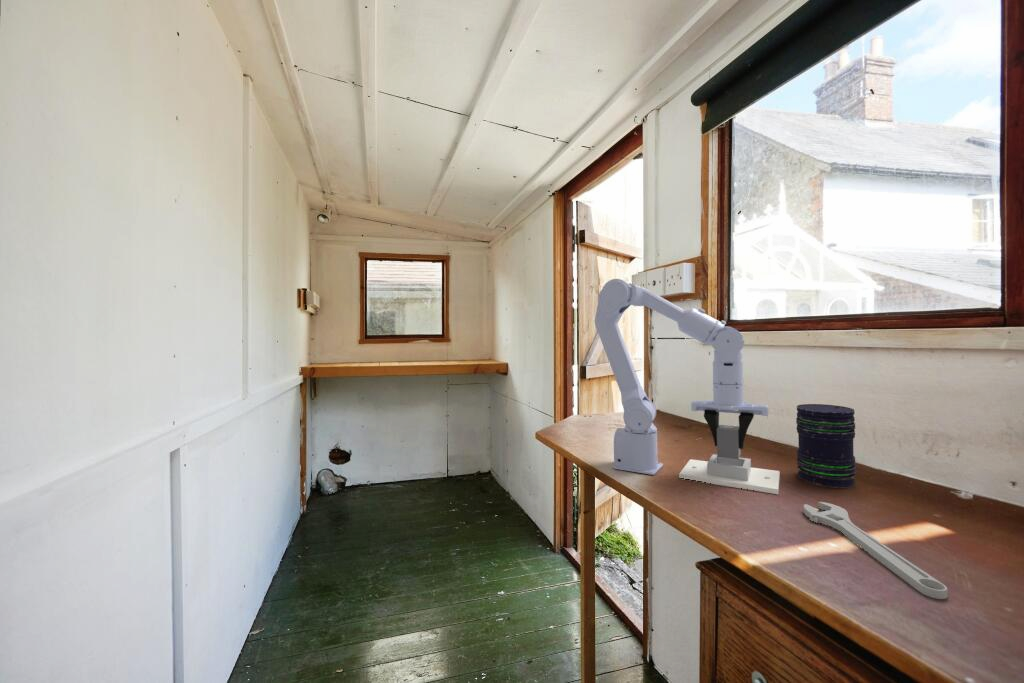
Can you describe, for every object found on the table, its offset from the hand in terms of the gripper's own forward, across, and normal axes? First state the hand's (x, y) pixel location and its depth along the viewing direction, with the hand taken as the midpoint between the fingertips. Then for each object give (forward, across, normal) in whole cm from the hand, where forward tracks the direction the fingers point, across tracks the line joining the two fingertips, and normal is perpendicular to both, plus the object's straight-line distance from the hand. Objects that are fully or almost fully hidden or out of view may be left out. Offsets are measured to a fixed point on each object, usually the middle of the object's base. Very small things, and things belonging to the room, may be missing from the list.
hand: (729, 446), depth 90 cm
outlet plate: (+7, 0, 0) cm, 7 cm away
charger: (+2, 0, 0) cm, 2 cm away
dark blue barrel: (+7, +17, +8) cm, 20 cm away
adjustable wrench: (+7, +19, -22) cm, 30 cm away
